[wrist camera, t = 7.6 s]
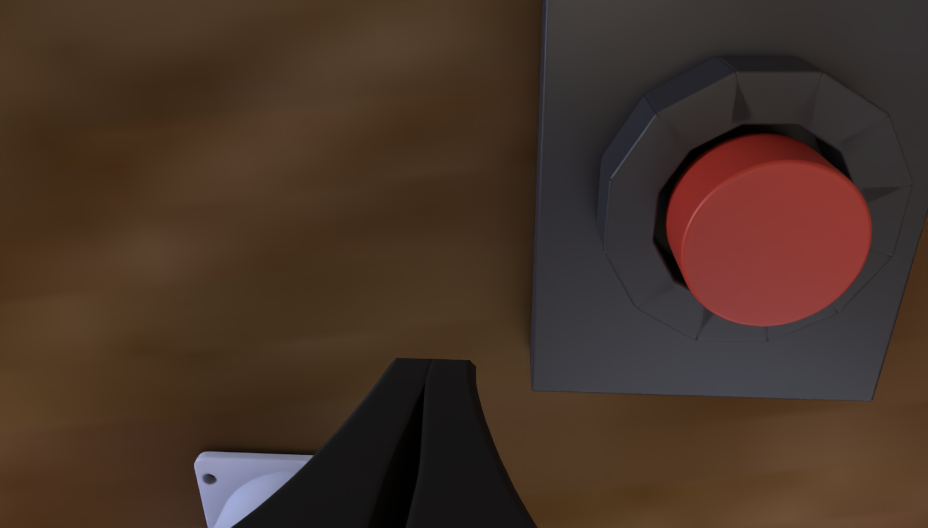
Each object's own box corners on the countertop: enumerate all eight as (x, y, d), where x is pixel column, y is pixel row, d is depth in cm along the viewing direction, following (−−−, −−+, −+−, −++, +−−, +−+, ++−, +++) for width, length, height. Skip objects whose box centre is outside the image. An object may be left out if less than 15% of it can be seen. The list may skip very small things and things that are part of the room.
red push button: (817, 287, 18) (850, 330, 17) (655, 284, 19) (670, 326, 17) (853, 132, 17) (894, 161, 15) (674, 130, 17) (693, 159, 15)
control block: (843, 360, 23) (902, 443, 20) (529, 351, 24) (532, 430, 20) (961, -91, 18) (1075, -89, 14) (545, -87, 18) (552, -84, 15)
